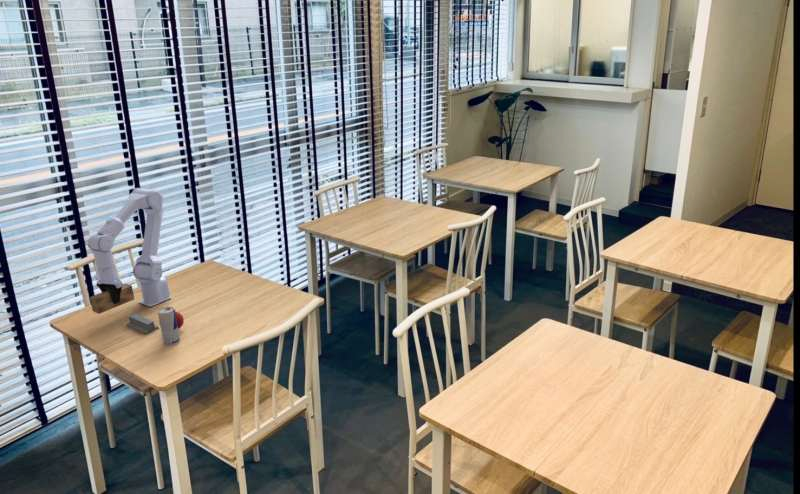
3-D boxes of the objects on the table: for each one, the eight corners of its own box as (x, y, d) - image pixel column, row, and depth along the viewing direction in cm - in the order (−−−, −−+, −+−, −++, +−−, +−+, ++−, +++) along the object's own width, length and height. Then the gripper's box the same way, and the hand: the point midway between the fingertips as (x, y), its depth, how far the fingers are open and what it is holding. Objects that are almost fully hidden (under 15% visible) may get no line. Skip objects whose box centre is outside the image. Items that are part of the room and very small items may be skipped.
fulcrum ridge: (139, 320, 231) (137, 312, 230) (158, 328, 224) (157, 320, 223) (126, 325, 227) (125, 317, 226) (146, 334, 220) (144, 325, 219)
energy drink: (182, 338, 216) (177, 306, 212) (176, 346, 211) (170, 313, 207) (167, 338, 217) (161, 306, 213) (160, 345, 212) (154, 313, 208)
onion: (181, 334, 219) (178, 313, 216) (165, 334, 219) (161, 313, 217) (187, 326, 225) (183, 306, 222) (171, 326, 225) (167, 306, 222)
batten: (128, 296, 236) (125, 283, 234) (134, 299, 234) (131, 285, 232) (92, 311, 225) (89, 297, 223) (99, 313, 223) (95, 299, 221)
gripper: (84, 266, 225) (92, 301, 230) (106, 274, 217) (114, 310, 222) (102, 260, 231) (110, 294, 235) (124, 267, 222) (132, 302, 227)
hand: (113, 301), depth 229 cm, fingers closed on batten, 4 cm apart
